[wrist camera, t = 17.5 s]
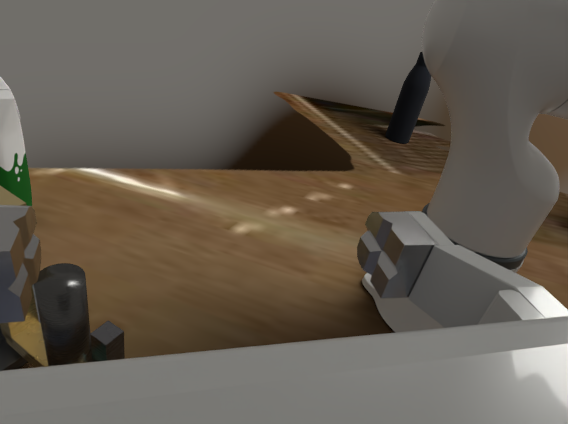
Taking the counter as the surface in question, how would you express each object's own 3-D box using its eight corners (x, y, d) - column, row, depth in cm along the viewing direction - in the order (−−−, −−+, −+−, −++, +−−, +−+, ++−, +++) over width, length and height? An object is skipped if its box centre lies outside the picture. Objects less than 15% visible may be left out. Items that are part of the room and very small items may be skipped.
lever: (-52, 318, 38) (-94, 198, 31) (10, 287, 42) (-14, 176, 35) (57, 421, 32) (36, 303, 25) (116, 372, 36) (112, 261, 29)
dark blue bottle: (397, 144, 107) (443, 21, 91) (380, 134, 111) (421, 15, 95) (413, 142, 110) (459, 24, 95) (396, 133, 114) (438, 18, 99)
